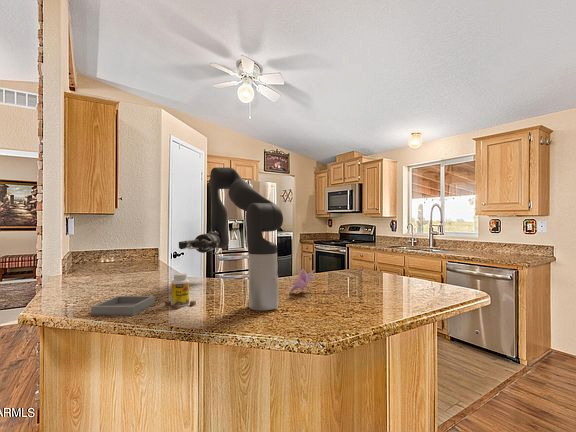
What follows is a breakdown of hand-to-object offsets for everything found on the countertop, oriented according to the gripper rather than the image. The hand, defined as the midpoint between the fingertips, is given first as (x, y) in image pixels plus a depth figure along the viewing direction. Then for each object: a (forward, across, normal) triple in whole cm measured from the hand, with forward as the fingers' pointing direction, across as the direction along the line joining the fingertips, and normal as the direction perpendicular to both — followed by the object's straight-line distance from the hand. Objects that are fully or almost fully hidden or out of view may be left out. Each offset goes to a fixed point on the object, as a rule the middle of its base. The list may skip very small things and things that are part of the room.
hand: (192, 246), depth 113 cm
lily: (-5, +41, +19) cm, 45 cm away
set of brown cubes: (+11, 0, +18) cm, 22 cm away
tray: (+16, -16, +18) cm, 29 cm away
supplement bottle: (+11, 0, +19) cm, 22 cm away
